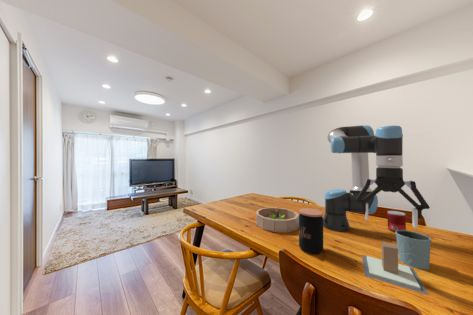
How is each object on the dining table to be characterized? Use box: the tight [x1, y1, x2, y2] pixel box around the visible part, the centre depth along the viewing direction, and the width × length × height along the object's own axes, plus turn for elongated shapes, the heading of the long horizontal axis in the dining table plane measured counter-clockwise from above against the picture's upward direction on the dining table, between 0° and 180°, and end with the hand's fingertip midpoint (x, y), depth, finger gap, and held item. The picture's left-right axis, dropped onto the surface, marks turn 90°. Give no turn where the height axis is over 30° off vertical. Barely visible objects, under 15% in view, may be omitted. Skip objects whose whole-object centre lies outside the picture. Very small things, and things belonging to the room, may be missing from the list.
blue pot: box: [395, 229, 432, 270], centre depth 70 cm, size 10×10×12 cm
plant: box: [266, 209, 288, 220], centre depth 112 cm, size 20×20×11 cm
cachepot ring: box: [255, 206, 299, 233], centre depth 113 cm, size 27×27×7 cm
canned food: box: [387, 210, 407, 233], centre depth 102 cm, size 8×8×11 cm
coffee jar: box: [298, 207, 324, 256], centre depth 81 cm, size 11×11×18 cm
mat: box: [361, 255, 430, 296], centre depth 64 cm, size 16×16×1 cm
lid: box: [366, 241, 421, 290], centre depth 64 cm, size 13×13×10 cm
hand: (389, 223), depth 64 cm, fingers open, 13 cm apart
